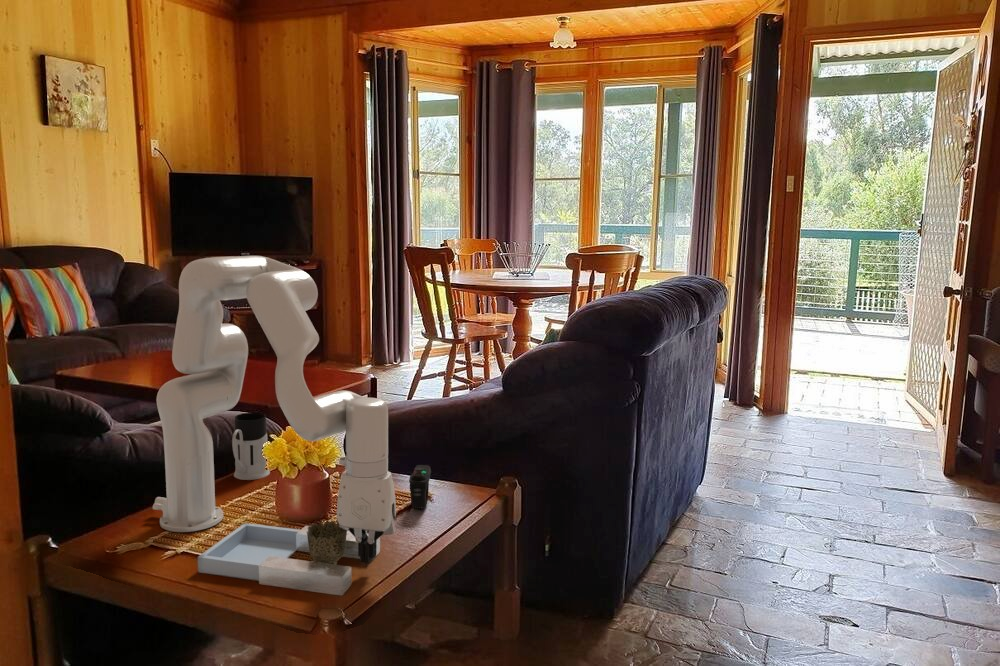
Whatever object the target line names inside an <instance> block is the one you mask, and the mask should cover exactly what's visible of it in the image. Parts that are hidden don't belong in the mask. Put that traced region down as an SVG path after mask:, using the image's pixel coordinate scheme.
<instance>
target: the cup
mask: <svg viewBox="0 0 1000 666" xmlns="http://www.w3.org/2000/svg"><path fill="white" fill-rule="evenodd" d="M310 526H311V527H308V531H307V537H308V544H309V550H310V552H309V553H310V556H311V558H312V560H313V561H314V562H319V563H326V564H334V565H338V561H339V560H340V559H341V558H343V557H342V555H343V553H344V550H345V544H346V535H347V530H345V529H342V528H340V527H339V524H338V522H335V521H334V520H330V521H329V520H326V521H325V523H324V524H323V523H322V521H319V523H318V524H317V523H314V522H312V523H311V525H310Z"/></svg>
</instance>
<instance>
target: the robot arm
mask: <svg viewBox="0 0 1000 666" xmlns="http://www.w3.org/2000/svg"><path fill="white" fill-rule="evenodd" d="M318 292H319V291H318V287H317V284H316V282H315V281H314V278H312V276H310V274H309V273H307V272H306V271H304V270H302V269H300V268H298V267H296V266H292V265H290V264H286V263H285V262H281V261H279V260H276V259H273V258H270V257H266V256H262V255H241V256H240V255H238V256H234V255H233V256H232V255H231V256H215V257H204V258H199V259H195V260H193V261H190V262H189V263H187V264H186V265H185V266H184V268H183V269H182V271H181V274H180V276H179V280H178V296H179V297H178V298H179V303H178V313H177V317H176V324H175V325H176V326H175V332H174V337H173V343H172V351H171V352H172V354H171V360H172V361H171V362H172V364H173V366H174V368H175V370H177V371H178V372H179V373H181V374H184V375H183V376H180V377H176V378H173V379H170V380H169V381H166V382H165V383H164V384H163V385H161V387H160V388H159V390H158V392H157V395H156V406H157V411H158V414H159V418H160V419H159V420H160V422H161V429H162V435H163V450H164V469H165V483H166V484H165V488H166V489H165V491H166V497H161V496H157V497H155V499H154V503H153V505H152V510H155V511H156V510H157V511H162V515H161V517H160V518H159V525H160V527H161V528H162V529H164V530H165V531H168V532H174V533H190V532H191V533H192V532H197V531H202V530H206V529H210V528H211V527H215V526H216V525H218V524H219V523H220V522H221V521H222V520H223V519H224V510H223V509H222V508H220V507H219V506H216V496H215V495H216V493H215V492H216V491H215V489H216V488H215V464H214V461H215V460H214V441H213V436H212V434H211V432H210V430H209V429H208V427H207V426H206V425H205V423H204V419H206V418H209V417H211V416H216V415H219V414H222V413H225V412H228V411H230V410H232V409H233V408H234V407H235V406H237V404H238V402H239V400H240V398H241V394H242V389H243V385H244V378H245V374H246V369H247V363H248V356H249V346H248V345H249V343H248V339H247V337H246V335H245V333H244V331H243V330H242V329H241V328H240V327H239V326H237V325H235V324H233V323H223V321H224V320H223V319H224V308H223V305H222V303H221V301H230V300H241V299H246V300H247V302H248V304H249V306H250V307H251V310H252V312H253V314H254V315H255V318H256V319H257V321H258V323H259V324H260V327H261V329H262V330H263V332H264V334H265V336H266V338H267V340H268V343H269V344H270V345H271V348H272V349H273V351H274V353H275V355H276V357H277V362H276V366H275V371H274V372H275V374H274V384H275V387H274V388H275V389H274V390H275V395H276V399H277V402H278V405H279V407H280V409H281V411H282V412H283V414H284V416H285V418H286V421H288V424H289V425H290V426H291V428H292V430H293V431H294V432H295V433H296V434H297V436H298V437H300V438H301V439H303V440H305V441H307V442H308V441H309V442H317V441H321V440H324V439H327V438H329V437H332V436H334V435H337V434H341V433H345V452H346V453H345V456H343V457H340V458H339V462H338V463H339V465H343V466H344V471H342V473H341V475H340V480H339V484H338V485H339V487H338V492H337V493H338V494H337V501H336V502H337V507H336V521H337V522H338V524H339V527H340V528H342V529H345V530H347V531H350V532H351V533H352V535H353V536H354V537H355V540H356V542H358V556H360V559H359V563H360V564H366V565H369V564H370V563H371V562H372V561H373V560H375V558H376V557H377V556H376V553H377V539H378V538H379V537H380V538H381V537H382V536H388V535H389V536H390V535H393V534H394V533H395V532H396V530H397V529H396V524H395V521H396V517H397V506H396V504H397V502H396V493H395V492H396V491H395V486H394V485H395V484H394V479H393V476H392V472H391V471H389V406H388V405H387V402H386V401H384V400H383V399H380V398H376V397H365V396H363V395H359V394H357V393H355V392H353V391H351V390H345V389H344V390H337V391H334V392H330V393H326V394H323V395H319V396H316V397H314V396H313V395H312V393H311V391H310V390H309V388H308V385H307V383H306V380H305V377H304V363H305V360H306V358H307V356H308V355H309V354H310V353H311V352H312V351H313V350H314V349H315V348H316V347H317V345H318V344H319V342H320V336H319V333H318V332H317V330H316V329H315V327H314V325H313V322H312V321H311V319H310V317H309V315H308V313H307V312H306V311H308V310H311V309H312V308H313V307H314V306H315V305H316V303H317V300H318V296H319V293H318ZM337 522H336V523H337ZM367 533H368V535H367Z"/></svg>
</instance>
